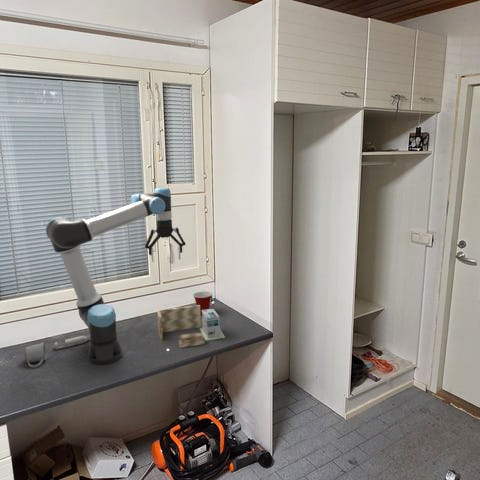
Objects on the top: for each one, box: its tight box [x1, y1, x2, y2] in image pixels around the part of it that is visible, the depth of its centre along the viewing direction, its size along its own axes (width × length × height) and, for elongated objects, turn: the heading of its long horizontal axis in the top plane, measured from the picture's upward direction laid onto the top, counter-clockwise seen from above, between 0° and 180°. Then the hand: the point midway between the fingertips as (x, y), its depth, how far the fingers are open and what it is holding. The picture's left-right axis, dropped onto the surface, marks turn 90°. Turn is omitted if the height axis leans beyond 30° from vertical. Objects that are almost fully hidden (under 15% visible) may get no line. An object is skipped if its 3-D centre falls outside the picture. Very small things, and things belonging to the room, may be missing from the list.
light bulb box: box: [201, 308, 221, 338], centre depth 212 cm, size 11×7×11 cm, turn 20°
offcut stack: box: [178, 332, 206, 348], centre depth 202 cm, size 12×4×5 cm, turn 107°
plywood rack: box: [156, 304, 202, 341], centre depth 213 cm, size 22×10×12 cm, turn 107°
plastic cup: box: [192, 290, 213, 316], centre depth 237 cm, size 11×11×12 cm
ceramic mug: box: [23, 342, 47, 369], centre depth 186 cm, size 11×8×8 cm
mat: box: [199, 327, 226, 342], centre depth 214 cm, size 10×14×1 cm
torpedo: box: [53, 334, 90, 350], centre depth 202 cm, size 18×5×7 cm, turn 123°
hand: (166, 260), depth 214 cm, fingers open, 13 cm apart
